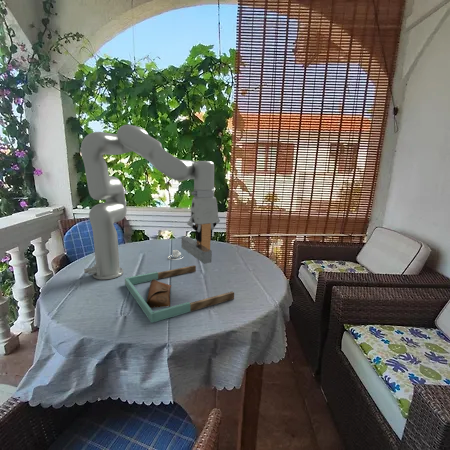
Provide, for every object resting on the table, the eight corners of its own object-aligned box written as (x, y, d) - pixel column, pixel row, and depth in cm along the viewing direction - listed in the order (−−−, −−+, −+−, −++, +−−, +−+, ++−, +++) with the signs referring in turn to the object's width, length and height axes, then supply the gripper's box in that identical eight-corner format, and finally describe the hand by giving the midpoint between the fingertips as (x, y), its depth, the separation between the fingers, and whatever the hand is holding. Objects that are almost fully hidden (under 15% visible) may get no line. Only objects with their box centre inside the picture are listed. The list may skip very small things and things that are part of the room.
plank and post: (204, 263, 105) (205, 226, 101) (181, 247, 121) (181, 215, 117) (220, 260, 108) (222, 224, 105) (196, 245, 124) (196, 213, 121)
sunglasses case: (171, 306, 100) (161, 291, 98) (154, 316, 100) (143, 302, 98) (171, 284, 117) (162, 272, 115) (156, 293, 117) (147, 281, 115)
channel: (190, 311, 97) (190, 304, 97) (157, 278, 124) (157, 272, 123) (234, 298, 107) (234, 292, 106) (194, 270, 133) (194, 265, 133)
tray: (151, 322, 90) (151, 314, 89) (125, 284, 116) (124, 277, 116) (190, 311, 97) (190, 303, 96) (157, 278, 124) (157, 271, 123)
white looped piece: (176, 254, 156) (176, 247, 156) (187, 257, 152) (187, 250, 151) (164, 258, 149) (164, 250, 149) (175, 261, 145) (175, 254, 144)
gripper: (188, 196, 102) (189, 245, 106) (227, 194, 111) (226, 239, 115) (179, 194, 108) (180, 240, 112) (217, 192, 117) (217, 235, 121)
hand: (204, 239), depth 113 cm, fingers closed on plank and post, 4 cm apart
